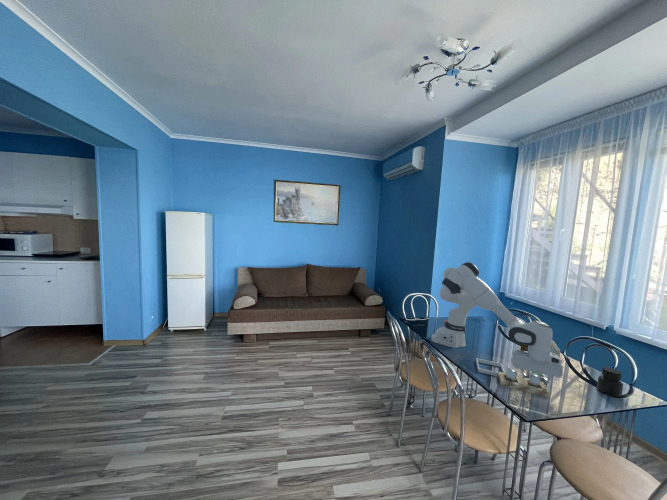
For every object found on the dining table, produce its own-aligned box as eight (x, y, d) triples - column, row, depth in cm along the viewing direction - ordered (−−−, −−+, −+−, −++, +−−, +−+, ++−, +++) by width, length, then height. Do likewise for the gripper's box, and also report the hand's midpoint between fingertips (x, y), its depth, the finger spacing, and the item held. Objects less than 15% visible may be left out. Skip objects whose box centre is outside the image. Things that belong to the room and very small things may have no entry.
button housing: (530, 382, 142) (531, 375, 142) (527, 375, 149) (527, 369, 148) (546, 386, 139) (547, 378, 139) (542, 379, 146) (543, 372, 145)
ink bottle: (627, 397, 133) (631, 374, 132) (613, 399, 131) (617, 376, 130) (603, 386, 143) (607, 364, 142) (591, 387, 141) (594, 365, 140)
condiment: (533, 358, 170) (536, 340, 169) (528, 361, 166) (530, 342, 165) (520, 353, 176) (523, 335, 175) (515, 356, 172) (517, 338, 171)
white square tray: (477, 372, 149) (478, 368, 149) (475, 361, 161) (476, 358, 161) (505, 379, 144) (506, 374, 144) (501, 367, 156) (501, 363, 156)
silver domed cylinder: (506, 384, 138) (508, 371, 138) (504, 379, 142) (506, 367, 142) (516, 386, 136) (518, 373, 136) (514, 382, 141) (516, 369, 140)
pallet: (500, 386, 137) (501, 381, 137) (497, 376, 146) (498, 371, 146) (548, 398, 129) (549, 392, 129) (542, 387, 138) (543, 381, 138)
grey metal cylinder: (529, 389, 134) (531, 376, 134) (526, 385, 138) (528, 372, 138) (540, 392, 133) (541, 379, 132) (537, 387, 137) (539, 374, 136)
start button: (533, 377, 143) (534, 371, 143) (531, 373, 146) (532, 368, 146) (542, 379, 141) (543, 373, 141) (540, 375, 145) (541, 370, 145)
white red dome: (529, 354, 176) (532, 332, 175) (536, 349, 184) (539, 328, 183) (556, 363, 165) (559, 340, 164) (562, 357, 174) (565, 335, 172)
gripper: (515, 351, 135) (512, 377, 136) (566, 361, 127) (562, 389, 128) (512, 346, 141) (509, 371, 142) (561, 356, 133) (557, 382, 134)
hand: (534, 379), depth 135 cm, fingers open, 8 cm apart
